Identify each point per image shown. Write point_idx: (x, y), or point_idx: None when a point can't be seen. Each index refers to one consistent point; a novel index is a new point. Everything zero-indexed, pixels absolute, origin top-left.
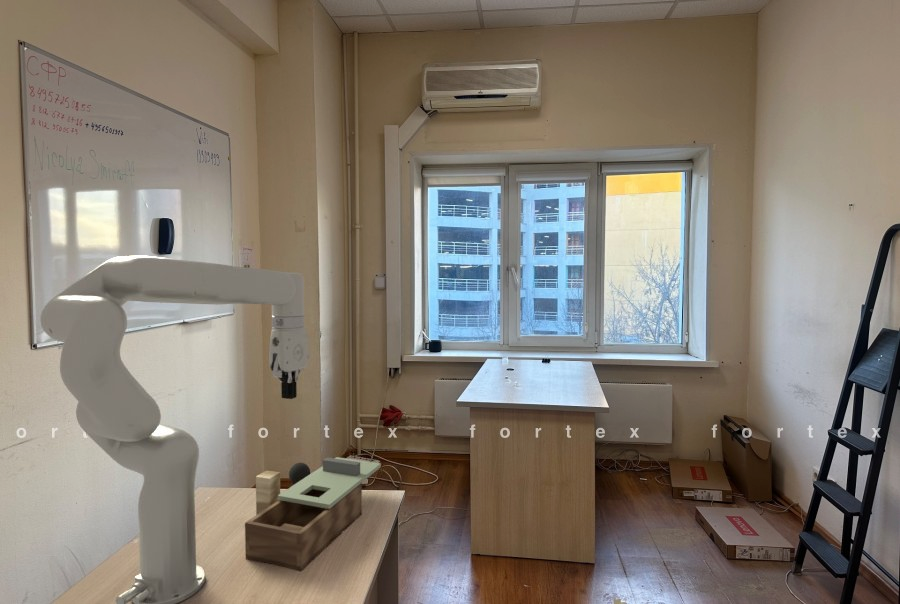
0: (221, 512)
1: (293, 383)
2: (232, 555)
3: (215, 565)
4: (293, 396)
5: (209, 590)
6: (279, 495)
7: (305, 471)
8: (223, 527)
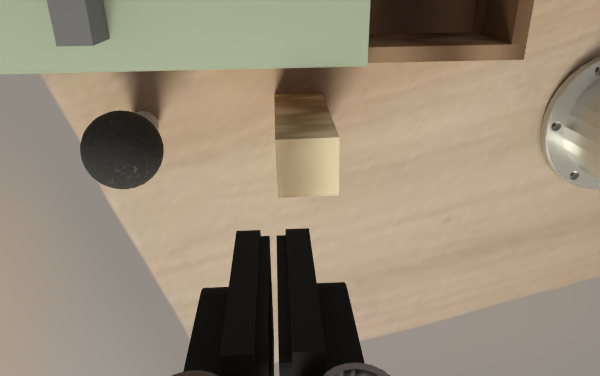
0: None
1: (301, 340)
2: (469, 86)
3: (515, 93)
4: (293, 236)
5: None
6: (364, 60)
7: (123, 122)
8: (361, 202)
